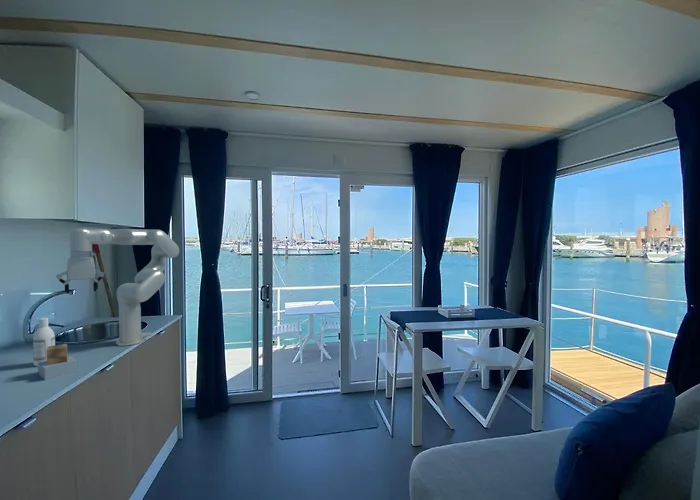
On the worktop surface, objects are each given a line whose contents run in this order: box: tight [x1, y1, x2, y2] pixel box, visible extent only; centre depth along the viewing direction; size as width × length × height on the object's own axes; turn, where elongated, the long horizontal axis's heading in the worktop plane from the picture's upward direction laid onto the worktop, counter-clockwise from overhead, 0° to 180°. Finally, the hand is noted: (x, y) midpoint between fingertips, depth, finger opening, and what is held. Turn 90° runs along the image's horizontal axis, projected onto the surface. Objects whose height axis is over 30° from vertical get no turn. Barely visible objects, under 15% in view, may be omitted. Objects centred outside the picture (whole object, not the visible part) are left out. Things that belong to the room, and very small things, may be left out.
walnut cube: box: [46, 343, 68, 365], centre depth 131 cm, size 6×6×6 cm
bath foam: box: [32, 317, 56, 367], centre depth 141 cm, size 7×7×20 cm
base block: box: [37, 355, 79, 381], centre depth 131 cm, size 10×10×5 cm
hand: (81, 291), depth 149 cm, fingers open, 9 cm apart
